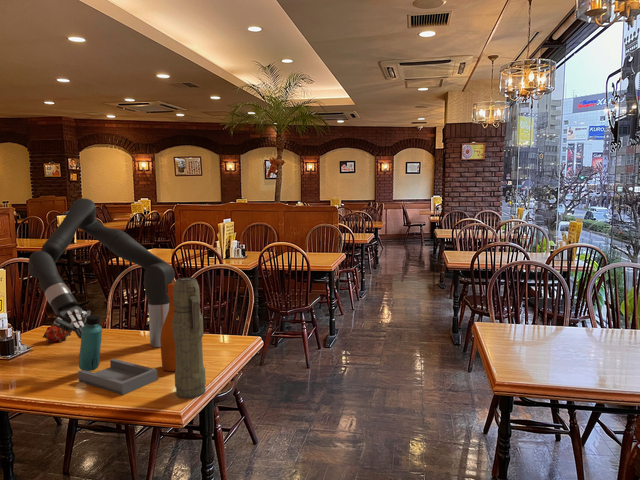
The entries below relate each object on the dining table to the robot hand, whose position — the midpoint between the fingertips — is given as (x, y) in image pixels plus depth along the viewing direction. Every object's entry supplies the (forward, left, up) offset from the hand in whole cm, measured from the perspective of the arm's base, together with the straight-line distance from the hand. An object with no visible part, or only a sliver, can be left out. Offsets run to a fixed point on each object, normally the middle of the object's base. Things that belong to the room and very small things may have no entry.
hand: (84, 337), depth 153 cm
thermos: (-26, +36, -13) cm, 46 cm away
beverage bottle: (0, 0, -12) cm, 12 cm away
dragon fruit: (+9, -47, -13) cm, 50 cm away
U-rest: (-8, +14, -12) cm, 20 cm away
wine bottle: (-27, +12, -13) cm, 32 cm away
